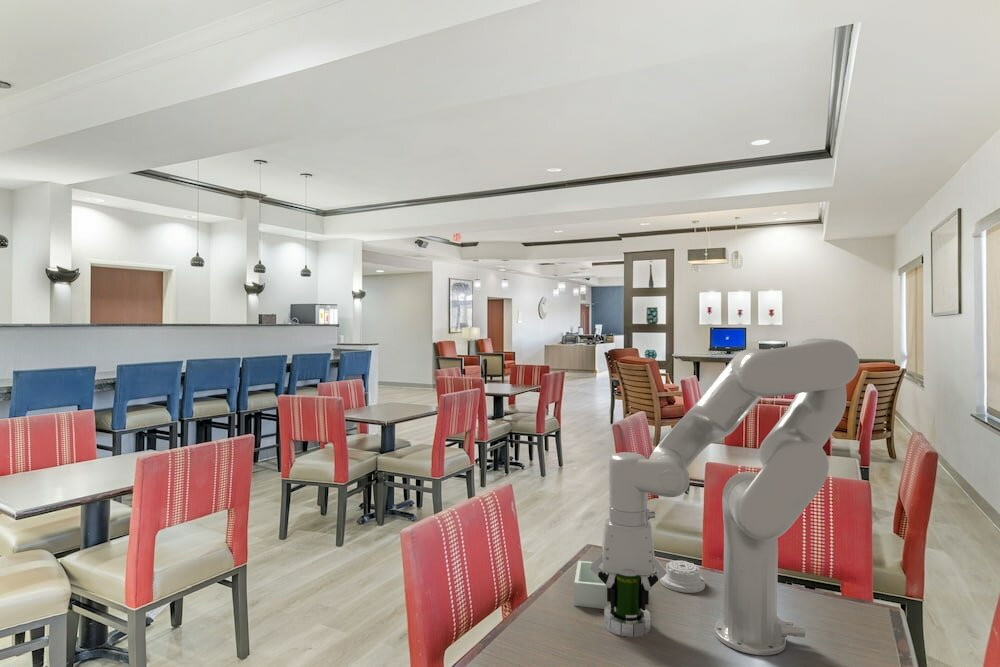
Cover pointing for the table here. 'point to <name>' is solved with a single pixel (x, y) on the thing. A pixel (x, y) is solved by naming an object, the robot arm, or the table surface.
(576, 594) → the bin
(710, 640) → the table surface
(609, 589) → the robot arm
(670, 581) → the mechanical component
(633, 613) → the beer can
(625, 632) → the collar
